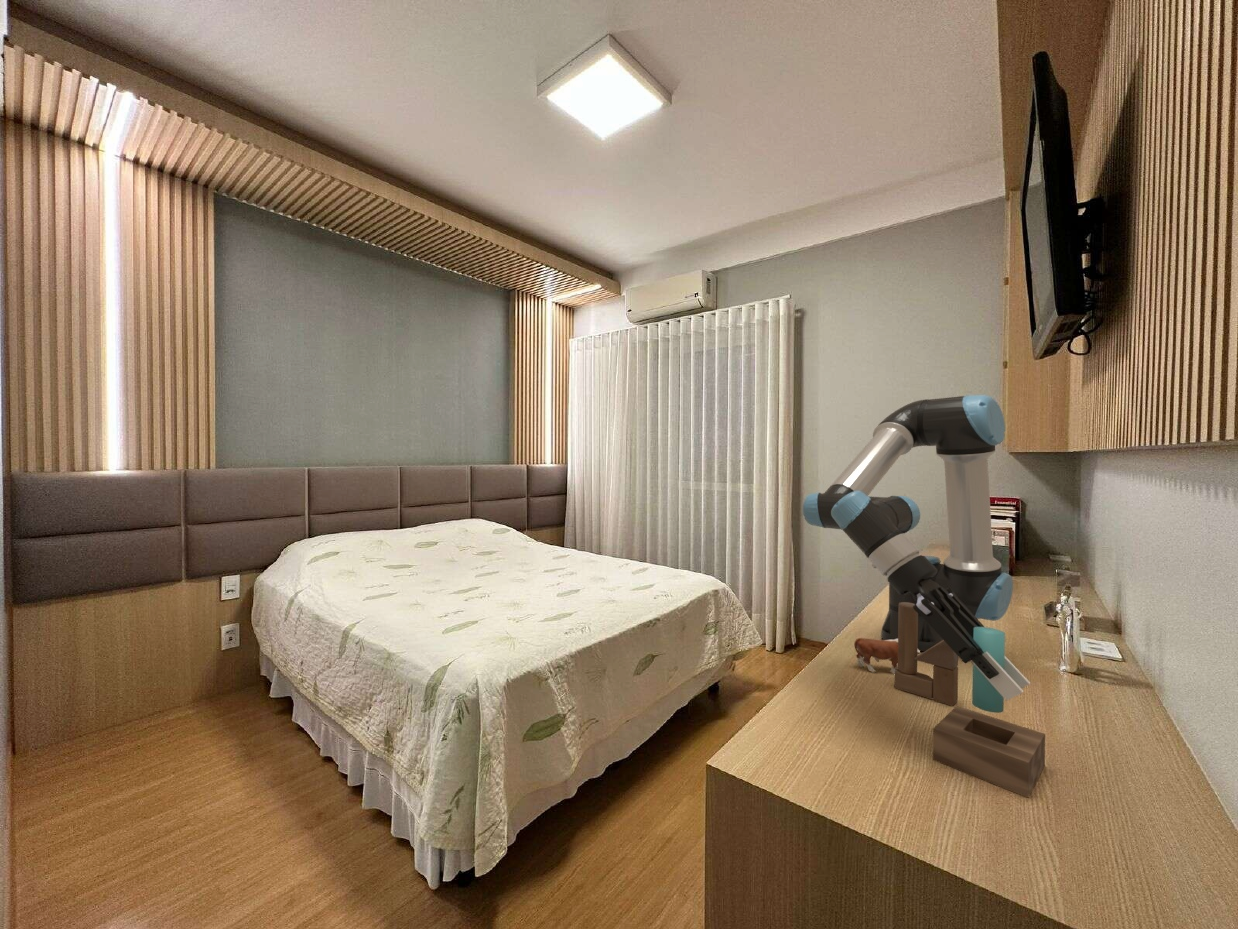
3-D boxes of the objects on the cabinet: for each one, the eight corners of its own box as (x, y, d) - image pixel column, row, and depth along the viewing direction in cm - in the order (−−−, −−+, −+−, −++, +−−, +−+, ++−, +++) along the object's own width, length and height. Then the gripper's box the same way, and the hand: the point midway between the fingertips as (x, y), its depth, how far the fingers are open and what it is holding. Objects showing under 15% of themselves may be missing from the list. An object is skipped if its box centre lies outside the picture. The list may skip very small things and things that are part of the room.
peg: (976, 698, 82) (977, 625, 82) (1006, 707, 79) (1007, 631, 79) (969, 705, 79) (970, 630, 79) (999, 715, 76) (1001, 636, 76)
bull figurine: (921, 680, 110) (921, 643, 110) (854, 671, 115) (855, 635, 115) (916, 672, 115) (917, 636, 115) (852, 663, 119) (852, 629, 119)
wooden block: (952, 707, 98) (954, 615, 98) (893, 688, 106) (895, 603, 106) (958, 701, 101) (959, 611, 101) (899, 683, 108) (901, 600, 108)
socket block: (956, 734, 88) (956, 705, 88) (1044, 765, 79) (1045, 734, 79) (932, 759, 80) (933, 728, 80) (1028, 798, 71) (1028, 762, 71)
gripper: (904, 572, 96) (1010, 688, 84) (867, 584, 85) (982, 719, 73) (936, 548, 93) (1052, 666, 80) (901, 558, 81) (1029, 696, 69)
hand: (1018, 691), depth 76 cm, fingers closed on peg, 4 cm apart
